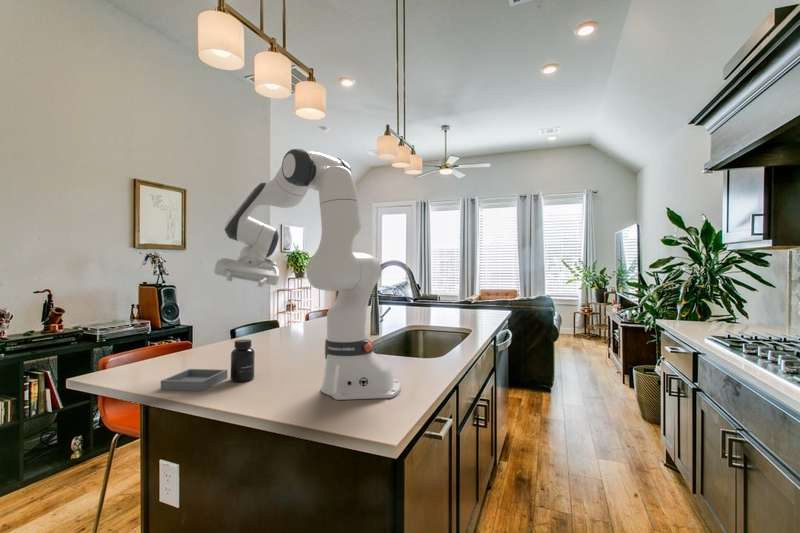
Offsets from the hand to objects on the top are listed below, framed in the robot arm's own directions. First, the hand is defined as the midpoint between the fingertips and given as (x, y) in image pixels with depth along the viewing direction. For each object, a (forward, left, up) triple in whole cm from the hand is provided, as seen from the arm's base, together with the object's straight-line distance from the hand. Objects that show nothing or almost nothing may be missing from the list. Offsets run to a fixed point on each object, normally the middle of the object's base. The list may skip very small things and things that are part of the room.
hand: (245, 281), depth 122 cm
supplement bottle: (-2, +5, -30) cm, 31 cm away
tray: (+10, +10, -30) cm, 33 cm away
